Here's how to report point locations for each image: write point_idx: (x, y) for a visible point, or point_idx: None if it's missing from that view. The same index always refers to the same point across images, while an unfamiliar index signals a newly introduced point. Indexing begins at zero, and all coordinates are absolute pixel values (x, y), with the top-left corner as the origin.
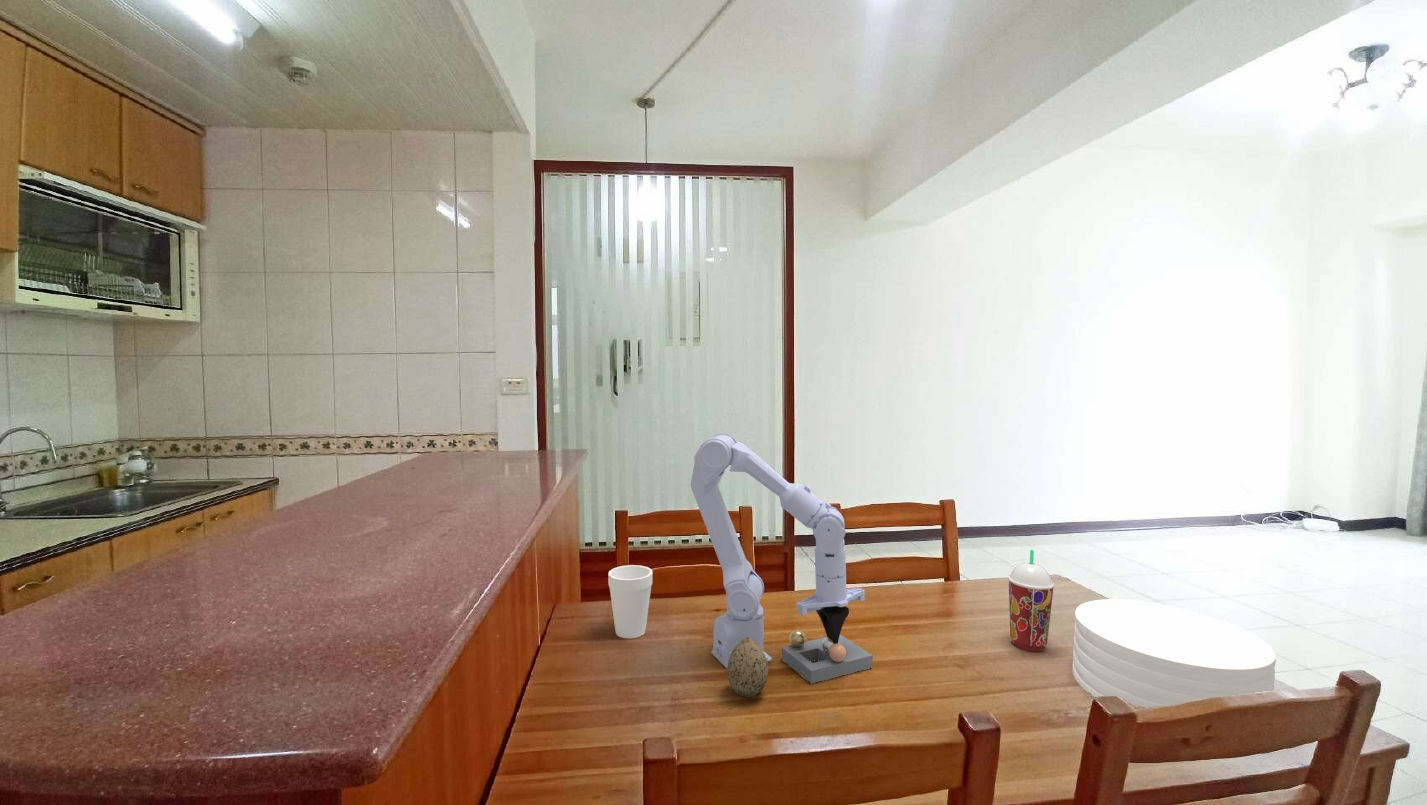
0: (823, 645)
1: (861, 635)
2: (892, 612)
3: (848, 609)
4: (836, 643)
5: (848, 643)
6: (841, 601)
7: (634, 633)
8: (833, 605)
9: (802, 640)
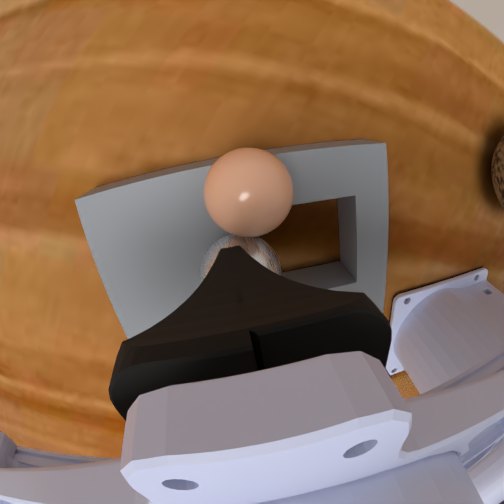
0: (281, 270)
1: (74, 368)
2: (10, 409)
3: (117, 377)
4: (250, 220)
5: (132, 308)
6: (285, 491)
7: None
8: (412, 406)
9: None
